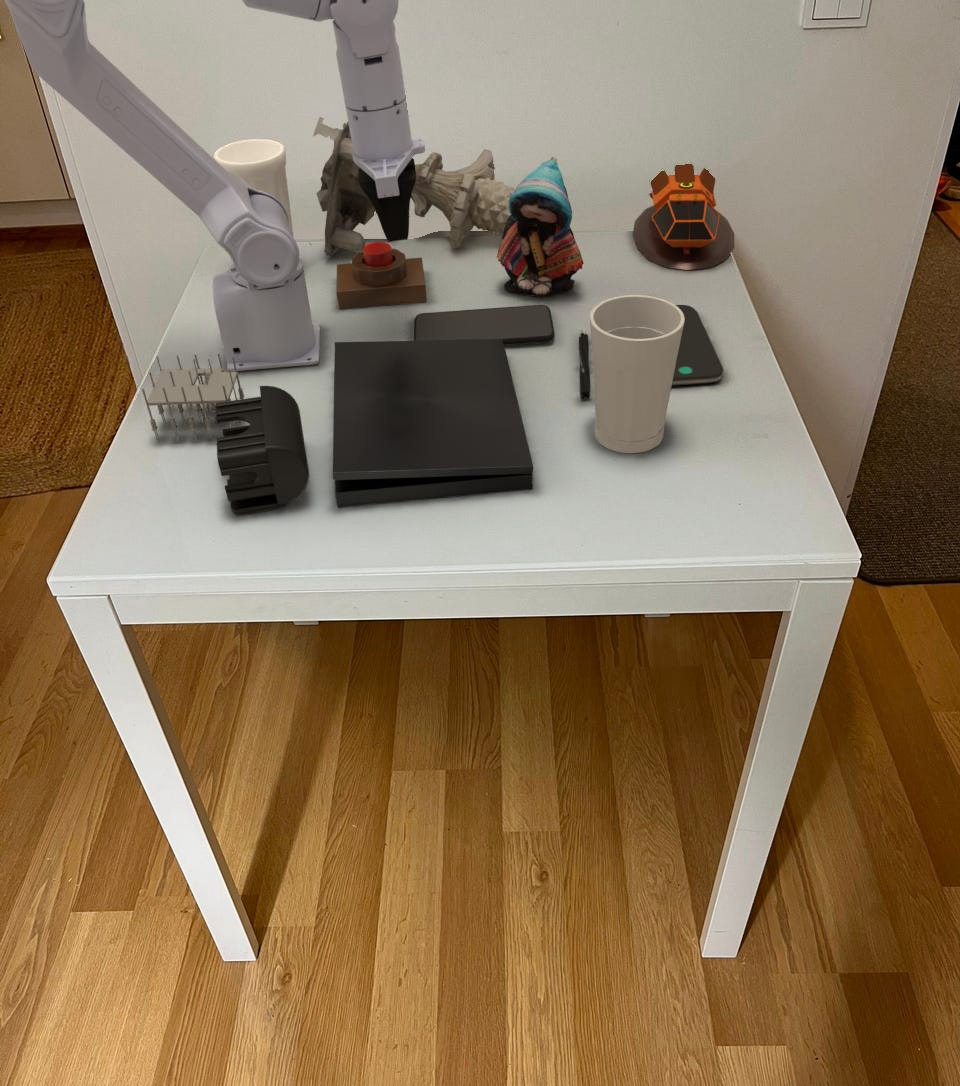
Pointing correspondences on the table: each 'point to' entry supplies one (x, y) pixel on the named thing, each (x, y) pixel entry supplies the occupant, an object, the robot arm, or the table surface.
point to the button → (378, 254)
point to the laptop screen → (426, 410)
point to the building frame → (191, 392)
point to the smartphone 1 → (488, 325)
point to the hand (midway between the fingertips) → (397, 237)
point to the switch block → (380, 282)
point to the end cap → (262, 451)
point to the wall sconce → (455, 193)
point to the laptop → (425, 488)
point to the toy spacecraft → (683, 222)
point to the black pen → (584, 365)
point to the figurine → (540, 236)
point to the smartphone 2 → (695, 353)
